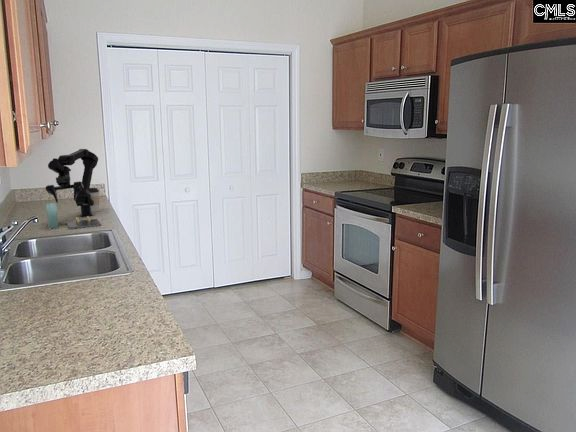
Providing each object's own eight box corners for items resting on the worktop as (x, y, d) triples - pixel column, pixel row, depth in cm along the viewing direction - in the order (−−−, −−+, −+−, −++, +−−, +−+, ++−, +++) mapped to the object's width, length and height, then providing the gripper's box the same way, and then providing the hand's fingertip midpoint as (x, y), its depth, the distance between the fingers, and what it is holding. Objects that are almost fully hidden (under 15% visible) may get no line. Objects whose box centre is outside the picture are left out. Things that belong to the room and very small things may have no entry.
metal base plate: (66, 224, 265) (65, 216, 264) (96, 220, 272) (96, 213, 272) (69, 229, 251) (68, 221, 250) (101, 225, 259) (100, 218, 258)
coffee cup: (86, 210, 306) (83, 187, 303) (101, 209, 309) (98, 186, 306) (85, 212, 298) (83, 189, 295) (100, 211, 301) (98, 188, 298)
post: (48, 227, 257) (45, 204, 255) (58, 226, 260) (55, 203, 257) (48, 229, 253) (46, 205, 251) (59, 227, 256) (56, 204, 253)
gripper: (41, 172, 256) (42, 198, 251) (77, 167, 259) (79, 193, 255) (48, 180, 266) (49, 205, 261) (83, 176, 270) (85, 201, 265)
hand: (65, 201), depth 260 cm, fingers open, 9 cm apart
